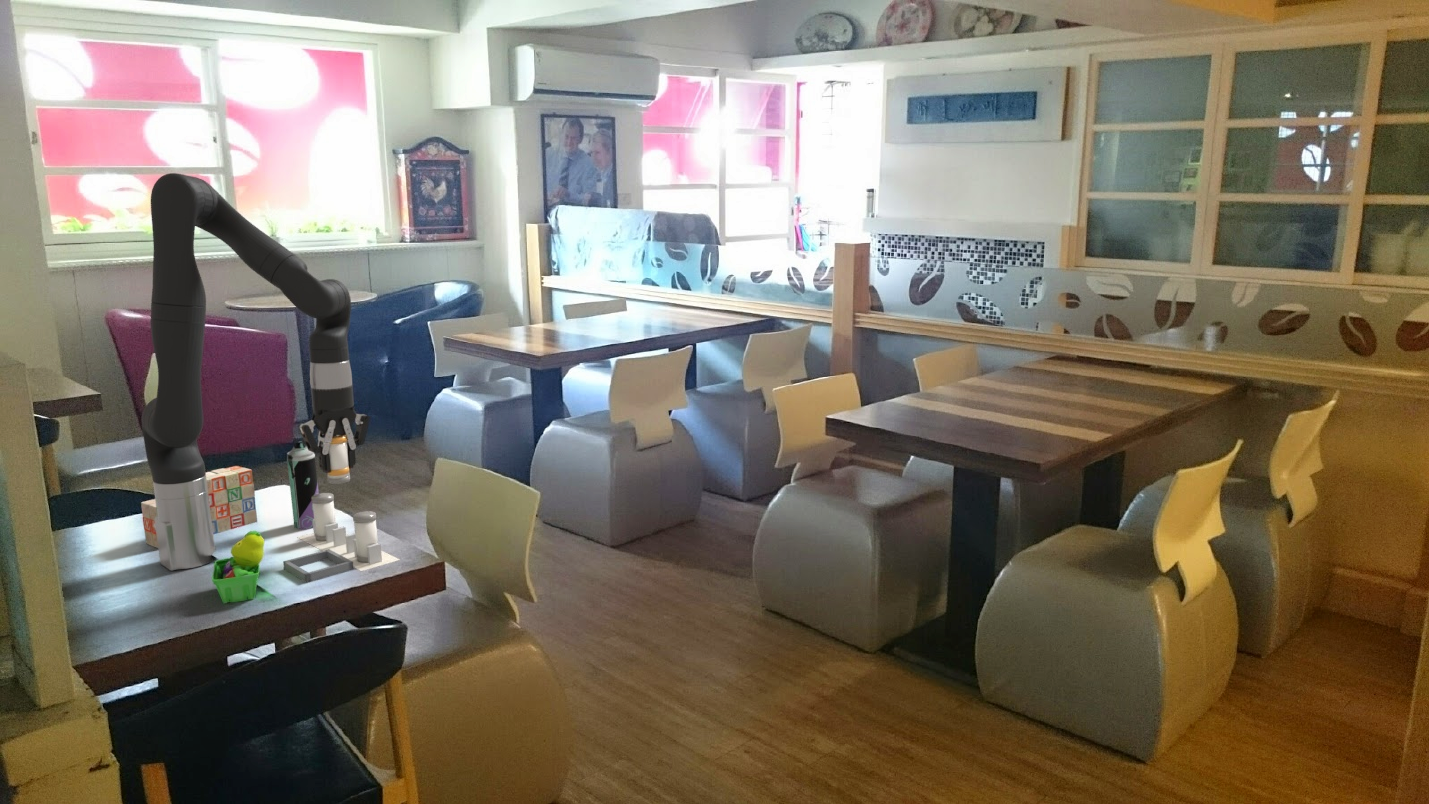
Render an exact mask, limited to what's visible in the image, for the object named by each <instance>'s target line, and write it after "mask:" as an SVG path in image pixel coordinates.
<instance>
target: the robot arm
mask: <svg viewBox="0 0 1429 804" xmlns="http://www.w3.org/2000/svg"><path fill="white" fill-rule="evenodd" d="M150 213H151V214H150V216H151V225H152V227H151V229H152V240H153V241H152V242H153V243H152V245H153V259H152V260H153V261H152V290H151V303H150V304H151V305H150V332H151V333H150V334H151V335H150V336H151V340H152V345H153V346H152V347H153V351H154V355H155V360H156V365H157V373H158V375H157V376H158V377H157V378H158V379H157V392H156V397H155V398H153V399H151V400H150V401H149V402H148V403H147V404H146V405H145V407H144V409H143V411H142V414H141V429H142V435H143V443H144V448H145V454H146V460H147V463H148V464H147V465H148V467H149V470H150V473H151V477H152V484H153V492H154V499H155V501H156V508H157V515H158V517H155V526H156V534H157V541H158V548H157V549H158V554H159V561H160V563H159V564H161V565H162V566H163V567H165V568H166V569H167V570H169V571H175V570H176V571H177V570H186V569H192V568H193V569H194V568H198V567H201V566H204V565H207V564H209V563H212V562H213V561H215V559H216V558H217V557H216V556H214V555H213V554H214V553H215V552H216V545H215V538H214V534H213V528H212V520H211V512H210V504H209V496H208V488H207V480H206V466H205V461H204V460H203V457H202V455H201V453H200V449H199V445H198V438H199V436H200V434H201V433H202V430H203V428H204V427H203V426H204V410H203V395H202V364H203V354H204V343H205V341H204V340H205V328H206V316H207V315H206V314H207V313H206V312H207V296H206V290H205V286H204V283H203V280H202V276H201V274H200V270H199V268H198V265H197V261H196V256H195V247H194V246H195V245H194V244H195V243H194V242H195V229H196V228H198V229H201V230H203V231H204V232H207V233H208V234H211V235H212V236H214V237H216V238H217V239H220V241H222V242H223V243H225V245H227V246H228V247H229V248H230V249H231V250H233V252H234V253H235V255H237V256H238V257H239V258H240V260H241V261H243V263H244V264H245V265H246V266H248V268H250V269H251V271H253V272H255V273H256V274H257V275H259V276H260V277H261V278H263V279H264V280H265V281H267V282H269V283H270V284H272V285H273V286H274V287H275V288H278V289H279V290H280V291H281V292H282V293H283V295H284V296H285V298H287V300H289V301H290V302H291V303H292V304H293V306H294V307H295V308H297V310H298V311H300V312H302V313H303V314H304V315H306V316H307V317H310V318H312V319H316V320H315V321H316V322H315V327H314V330H313V331H312V332H311V333H310V334H309V338H308V348H309V349H308V352H309V362H310V364H309V367H310V368H309V378H310V380H309V385H310V392H311V401H312V402H311V405H312V410H313V411H312V412H313V413H312V417H311V420H309V421H307V422H305V423H302V422H301V423H298V425H297V428H298V431H299V432H300V435H301V438H302V439H303V440H302V441H304V445H305V446H307V449H308V450H309V451H311V452H314V454H318V466H319V469H320V470H321V471H322V472H323V473H326V474H327V473H330V472H331V469H330V456H329V454H328V451H329V446H330V443H331V442H332V437H334V436H336V435H346V436H347V449H348V463H349V470H350V469H354V467H355V465H356V463H357V462H356V461H357V460H356V448H357V447H359V446H363V445H364V444H365V440H366V436H367V432H368V428H369V425H370V424H369V423H370V420H371V418H370V416H369V415H367V414H363V413H356V412H357V411H355V409H354V406H355V403H354V402H355V401H354V391H353V390H354V389H353V388H354V387H353V375H352V374H353V373H352V369H351V363H350V355H349V353H350V352H349V343H348V334H349V330H350V329H349V328H350V322H351V320H350V319H351V313H352V300H351V296H350V292H349V290H348V288H347V286H346V285H345V284H344V283H343V282H341V281H339V280H338V279H334V278H331V279H330V278H327V279H322V280H319V279H318V278H316V277H315V276H313V275H312V274H311V273H310V272H309V271H308V266H307V264H306V262H305V261H304V260H303V259H301V258H300V257H299V256H297V255H296V254H294V253H293V252H292V251H290V250H289V249H288V248H286V247H285V246H284V245H283V244H280V243H279V242H278V241H276V240H275V239H274V238H272V237H271V236H269V235H268V234H266V233H265V232H264V231H262V230H261V229H259V228H258V227H256V226H255V225H254V224H253V223H252V222H251V221H249V220H248V219H247V218H246V217H244V216H243V215H242V214H241V213H240V212H239V211H238V210H236V208H234V206H232V205H231V204H230V202H228V201H227V200H226V199H225V198H224V197H223V196H222V195H221V194H220V192H218V191H217V190H216V189H215V188H214V187H213V186H212V185H211V184H210V183H208V182H207V181H206V180H204V179H202V178H199V177H195V176H192V175H186V174H181V173H178V172H177V173H176V172H172V173H165V174H164V175H162V176H160V177H159V178H158V179H157V180H156V181H155V183H154V184H153V187H152V189H151V193H150ZM354 422H355V425H356V427H355V429H354V434H353V431H352V429H351V428H352V426H353V424H354ZM314 427H315V428H316V429H317V430H318V435H317V440H318V442H317V441H316V438H315V437H314V431H315V429H314Z"/></svg>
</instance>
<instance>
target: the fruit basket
mask: <svg viewBox="0 0 1429 804" xmlns="http://www.w3.org/2000/svg"><path fill="white" fill-rule="evenodd" d="M264 545H265V539H264V538H263V537H262V535H261V533H260V532H259V531H258V530H250V531H247V533H246V534H245V535H244V537H243V538H242V539H240V540H239V541H237V542H236V543H235V544H234V545H233V546H232V547H231V549H230V554H231V555H232V556H230V557H228V558H223V559H217V560H216V561H215V560H214V564H213V565H214V567H213V571H212V577H211V581H212V582H213V584H214V586H215V587H216V589H217V592H218V594H219V597H220V599H221V602H222V603H223V604H224V603H226V604H228V603H227V602H230V603H239V602H242V601H247V600H254V599H255V598H256V592H257V584H258V578H259V576H260V563H261V562H262V560H263V558H264V553H265V552H264Z"/></svg>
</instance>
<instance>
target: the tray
mask: <svg viewBox="0 0 1429 804" xmlns="http://www.w3.org/2000/svg"><path fill="white" fill-rule="evenodd" d="M324 560H329V561H331V562H332V563H335V564H333V565H331V566H327V567H323V568H320V569H316V570H313V571H309V572H308V571H307V570H305V569H303V568H301V567H304V566H306V565H309V564H313V563H317V562H321V561H324ZM282 564H283V570H284V571H287V572H288V573H290V574H291V575H293V576H295V577H296V578H298V579H300V580H302V581H303V582H305V583H310V582H315V581H318V580H321V579H324V578H329V577H331V576H335V575H339V574H343V573H345V572H349V571H353V570H355V568H354V567H353V561H351V560H349V559H347V558H345V557H343V556H341V555H339V554H337V553H335V552H333V551H332V550H330V549H328V550H324V551H322V550H320V551H318V552H312V553H310V554H306V555H303V556H302V555H301V556H300V557H295V558H290V559H287V560H284V561H283V562H282Z"/></svg>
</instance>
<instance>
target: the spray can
mask: <svg viewBox="0 0 1429 804" xmlns="http://www.w3.org/2000/svg"><path fill="white" fill-rule="evenodd" d="M286 455H287V457H286V461H287V470H288V479H289V480H288V481H289V488H290V489H289V490H290V498H291V507H292V517H293V519H292V520H293V526H294V529H296V530H310V529H313V519H314V512H313V503H312V496H313V495H316V494H320V492H319V485H318V484H319V483H318V482H319V481H318V473H317V472H318V471H317V463H316V453H314V452H311V451H309V450H308V449H307V446H306V444H305V442H304V440H300V441H297V442H296V441H295V442H294V446H293V447H292V449H291V450H290V451H288V452H287V453H286Z"/></svg>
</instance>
